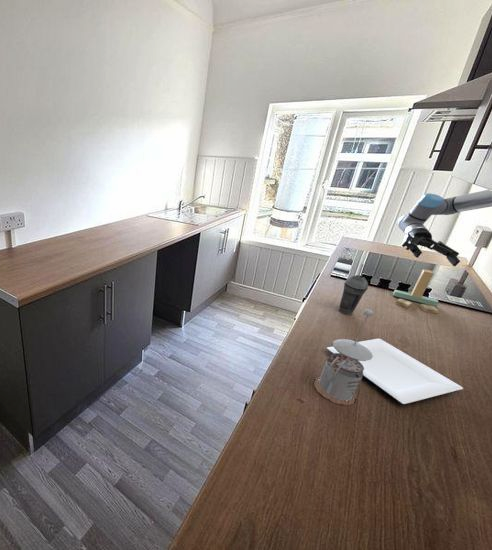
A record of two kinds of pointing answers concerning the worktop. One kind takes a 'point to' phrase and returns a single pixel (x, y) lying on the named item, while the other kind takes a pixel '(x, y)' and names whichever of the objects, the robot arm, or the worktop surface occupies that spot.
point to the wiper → (419, 290)
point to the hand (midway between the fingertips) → (437, 259)
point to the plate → (402, 373)
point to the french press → (345, 367)
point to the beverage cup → (352, 293)
